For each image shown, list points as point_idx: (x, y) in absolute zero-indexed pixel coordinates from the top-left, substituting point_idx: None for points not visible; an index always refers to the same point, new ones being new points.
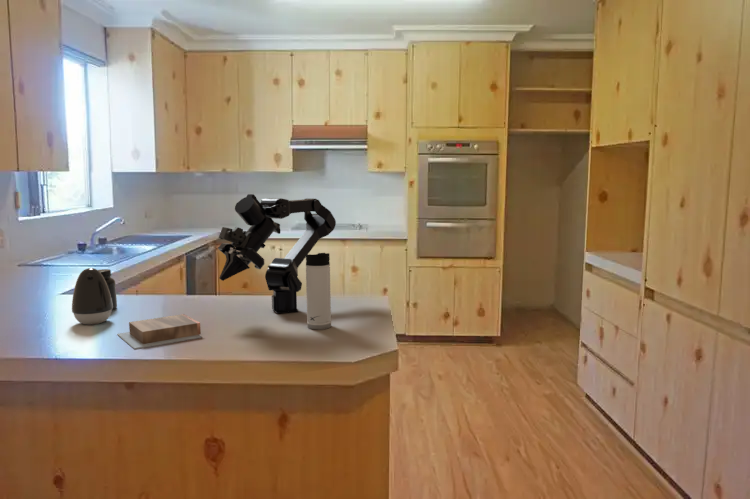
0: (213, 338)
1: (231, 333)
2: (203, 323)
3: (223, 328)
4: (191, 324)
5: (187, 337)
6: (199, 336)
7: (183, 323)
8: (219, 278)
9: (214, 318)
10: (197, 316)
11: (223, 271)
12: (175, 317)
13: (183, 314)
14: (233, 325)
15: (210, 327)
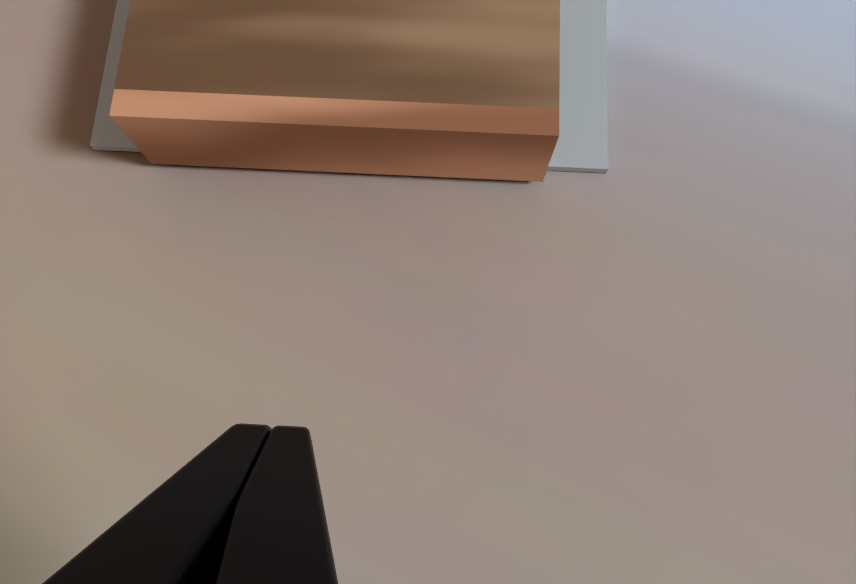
0: (2, 207)
1: (20, 385)
2: (530, 348)
3: (228, 409)
4: (122, 44)
5: None
6: (98, 131)
7: (196, 2)
8: (299, 428)
9: (659, 518)
10: (849, 421)
11: (227, 547)
12: (469, 30)
13: (543, 125)
14: None
15: (346, 335)
